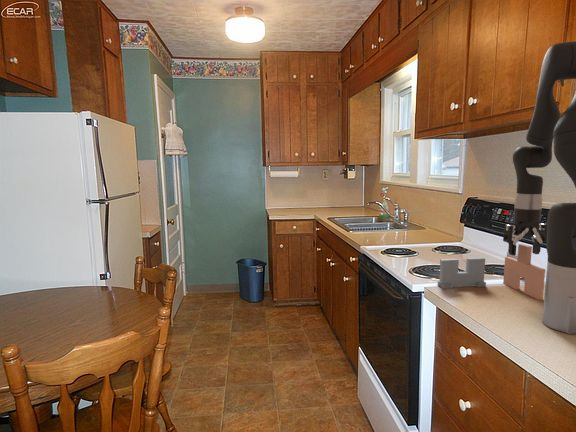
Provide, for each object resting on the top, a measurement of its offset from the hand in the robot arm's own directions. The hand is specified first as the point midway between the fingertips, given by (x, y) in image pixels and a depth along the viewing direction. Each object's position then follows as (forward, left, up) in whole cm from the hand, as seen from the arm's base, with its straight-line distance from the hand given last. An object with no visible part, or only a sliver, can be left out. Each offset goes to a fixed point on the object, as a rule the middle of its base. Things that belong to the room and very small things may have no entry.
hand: (524, 254), depth 120 cm
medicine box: (+16, -11, -13) cm, 23 cm away
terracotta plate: (0, 0, -13) cm, 13 cm away
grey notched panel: (+8, +17, -13) cm, 23 cm away
